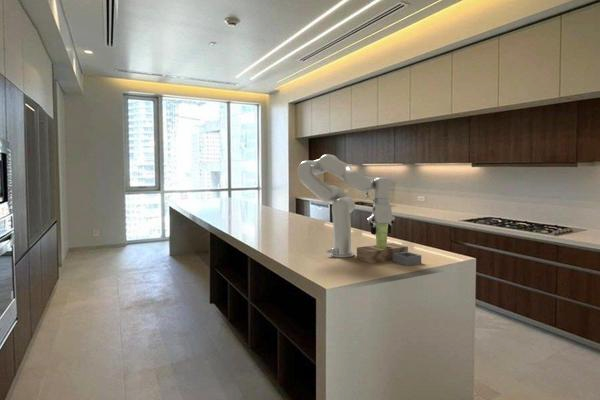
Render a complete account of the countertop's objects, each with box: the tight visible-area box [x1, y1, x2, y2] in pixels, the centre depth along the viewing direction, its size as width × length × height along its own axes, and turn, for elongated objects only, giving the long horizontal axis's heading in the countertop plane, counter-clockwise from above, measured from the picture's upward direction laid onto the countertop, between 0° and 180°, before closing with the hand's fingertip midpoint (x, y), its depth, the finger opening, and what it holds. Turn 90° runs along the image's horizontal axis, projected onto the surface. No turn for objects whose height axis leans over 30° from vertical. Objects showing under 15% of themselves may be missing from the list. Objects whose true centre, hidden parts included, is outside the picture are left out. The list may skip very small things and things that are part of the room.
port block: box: [356, 242, 409, 264], centre depth 198 cm, size 24×12×6 cm, turn 116°
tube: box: [375, 223, 388, 249], centre depth 198 cm, size 6×5×20 cm
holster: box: [392, 251, 422, 267], centre depth 188 cm, size 9×10×4 cm
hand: (380, 233), depth 197 cm, fingers open, 9 cm apart
